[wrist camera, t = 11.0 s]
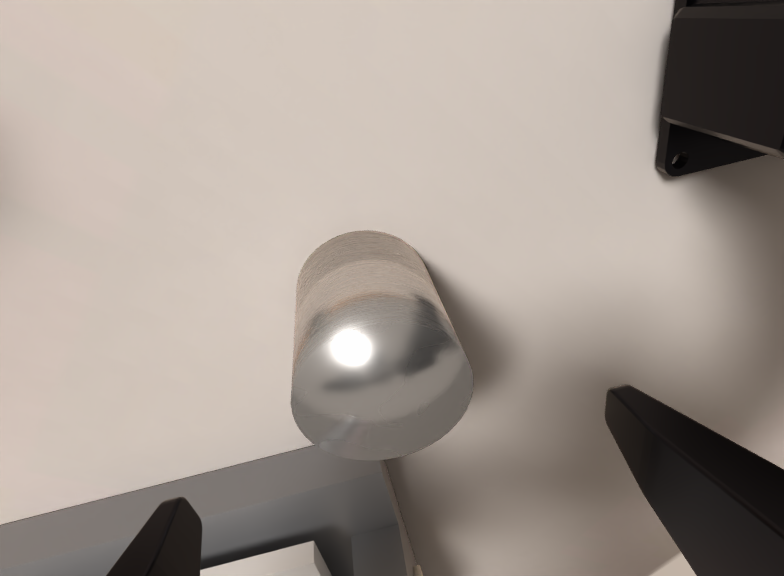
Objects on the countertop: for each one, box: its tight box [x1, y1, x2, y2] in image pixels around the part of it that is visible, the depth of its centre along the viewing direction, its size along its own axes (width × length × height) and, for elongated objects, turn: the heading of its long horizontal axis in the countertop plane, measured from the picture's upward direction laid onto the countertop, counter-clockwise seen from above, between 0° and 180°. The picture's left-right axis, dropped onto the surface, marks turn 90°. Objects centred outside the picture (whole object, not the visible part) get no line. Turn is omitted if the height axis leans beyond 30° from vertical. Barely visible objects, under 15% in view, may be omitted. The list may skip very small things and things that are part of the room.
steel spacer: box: [291, 231, 474, 461], centre depth 13 cm, size 4×4×5 cm
